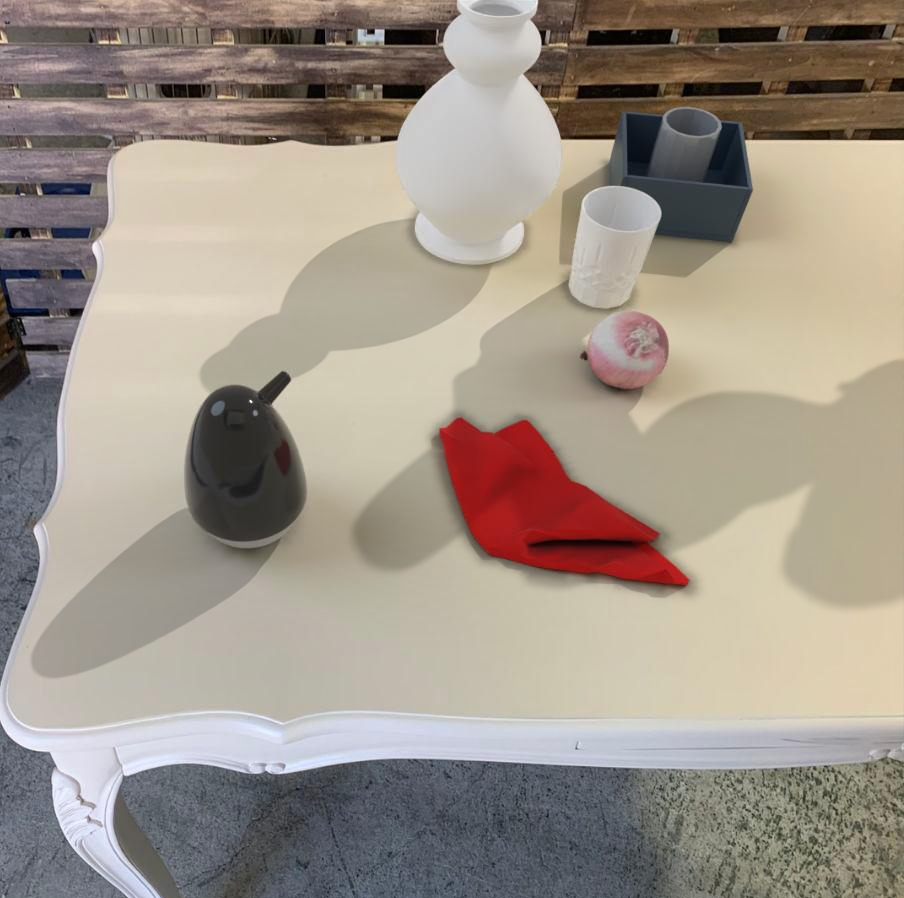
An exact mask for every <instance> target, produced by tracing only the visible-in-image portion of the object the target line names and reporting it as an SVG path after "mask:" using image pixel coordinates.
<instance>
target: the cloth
mask: <svg viewBox="0 0 904 898" xmlns="http://www.w3.org/2000/svg"><path fill="white" fill-rule="evenodd" d="M438 429H439V431H438V432H439V438H440V440H441V442H442V443H443V450H444V457H445V462H446V465H447V468H448V472H449V476H450V479H451V483H452V487H453V490H454V492H455V495H456V498H457V500H458V503H459V506H460V509H461V511H462V515H463V517H464V519H465V521H466V524H467V526H468V528H469V531H470V532H471V534H472V536H473V538H474V539H475V540H476V541H477V543H478V544H479V545H480V546H481V547H482V548H483V549H484V551H485V552H486V553H487V554H488V555H490V556H493V557H497V558H502V559H505V560H509V561H514V562H517V563H519V564H520V563H521V564H525V565H528V566H532V567H537V568H543V569H551V570H560V571H568V572H575V573H576V572H577V573H583V574H604V575H608V576H612V577H616V578H619V579H624V580H631V581H639V582H640V581H641V582H642V581H643V582H651V583H659V584H660V583H661V584H670V585H672V584H673V585H680V586H688V584H689V583H690V578H688V576H686V575H685V574H684V573H683V572H682V571H681V569H680V568H679V567H677V566H676V565H675V564H674V563H673V562H671V561H670V560H669V559H668V558H666V557H665V555H663V554H662V553H661V552H659V551H658V550H657V549H656V548H655V547H654V546H652V545H651V544H650V543H649V542H651V541H652V542H654V541H655V540H656V539H657V537H658V536H659V535H660V534H661V533H660V532H659V531H657V530H655V529H654V528H652V527H650V526H649V525H647V524H645V523H644V522H642V521H641V520H639V519H637V518H635V517H634V516H633V515H631V514H629V513H627V512H626V511H624V510H622V509H621V508H619V507H617V506H616V505H614V504H613V503H611V502H609V501H607V500H606V499H605V498H603V497H602V496H600V495H599V494H598V493H596V492H595V491H594V490H593V489H591V488H589V487H588V486H587V485H585V484H582V483H579V482H576V481H573V480H572V479H571V478H570V476H568V475H567V473H566V472H565V470H564V467H563V466H562V464H561V462H560V460H559V459H558V457H557V455H556V454H555V451H554V450H553V449H552V447H551V446H550V445H549V444H548V442H547V441H546V440H545V439H544V437H543V436H542V434H541V433H540V432H539V431H538V429H536V427H535V426H533V424H532V423H531V422H530V421H529V420H528V419H521V420H519V421H517V422H515V423H512V424H510V425H508V426H505V427H503V428H501V429H500V430H498V431H497V432H495V433H494V432H492V431H481V430H480V429H478V428H477V427H476V426H474V425H473V424H472V423H470V421H469V422H468V421H467V420H466V419H464V418H463V417H456V418H455V419H454V420H452V422H450V424H448V425H447V426H446V427H439V428H438Z"/></svg>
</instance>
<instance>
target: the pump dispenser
mask: <svg viewBox="0 0 904 898" xmlns="http://www.w3.org/2000/svg"><path fill="white" fill-rule="evenodd" d="M291 382H292V376H291V375H290V374H289V373H288V371H285V370H281V371H280V372H279V373H278V374H276V375H275V376H274V377H273V378H272V379H271V380H269V381H268V382H267V383H266V384H265V385H263V386H262V387H261V388H260V389H259V390H256V389H255V388H252V387H249V386H247V385H244V384H241V383H240V384H239V383H230V384H225V385H221V386H219V387H217V388H216V389H214V390H212V392H210V393H209V394H208V395H207V396H206V398H204V400H203V401H202V403H201V404H200V406H199V408H198V409H197V410H196V413H195V415H194V418H193V421H192V423H191V426H190V430H189V433H188V438H187V443H186V448H185V453H184V464H183V487H184V488H183V490H184V491H183V492H184V498H185V502H186V506H187V509H188V512H189V514H190V516H191V518H192V519H193V520H194V522H195V523H196V524H197V525H198V526H199V527H200V528H202V530H203V531H205V532H206V533H207V534H208V535H209V536H210V537H212V538H213V539H214V540H216V541H218V542H220V543H221V544H224V545H226V546H229V547H233V548H239V549H254V548H255V549H256V548H261V547H265V546H267V545H270V544H272V543H274V542H276V541H278V540H279V539H281V538H282V537H284V536H285V535H286V533H288V532H289V531H290V530H291V529H292V527H293V526H294V525H295V523H296V522H297V520H298V518H299V516H300V515H301V513H302V511H303V510H304V507H305V505H306V502H307V497H308V481H307V475H306V470H305V466H304V463H303V460H302V456H301V453H300V450H299V448H298V447H299V446H298V444H297V442H296V440H295V437H294V436H293V434H292V432H291V430H290V428H289V426H288V424H287V422H286V421H285V419H284V418H283V416H282V415H281V413H280V412H279V411H278V410H277V408H275V406H274V402H275V401H276V400H277V399H278V398H279V396H280V395H281V394H282V393H283V392H284V390H285V389H286V388H287V387H288V386H289V384H290V383H291Z"/></svg>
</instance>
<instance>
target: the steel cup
mask: <svg viewBox="0 0 904 898" xmlns="http://www.w3.org/2000/svg"><path fill="white" fill-rule="evenodd" d="M663 115H664V116H663V118H662V121H661V125H660V128H659V131H658V135H657V138H656V142H655V145H654V149H653V152H652V156H651V159H650V163H649V166H648V169H647V173H646V176H645V177H652V178H662V179H672V180H682V181H692V182H702V183H703V181H704V178H705V175H706V172H707V169H708V166H709V163H710V160H711V158H712V155H713V152H714V149H715V146H716V143H717V140H718V137H719V135H720V132H721V129H722V126H721V121H720V120H721V119H719V118H718V117H717V116H716V115H715V114H714V113H712V112H710V111H708V110H705V109H702V108H698V107H691V106H680V107H673V108H671V109H669V110H667V111H666V112H665V113H664V114H663Z"/></svg>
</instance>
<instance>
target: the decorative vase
mask: <svg viewBox="0 0 904 898" xmlns="http://www.w3.org/2000/svg"><path fill="white" fill-rule="evenodd" d="M538 5H539V0H456V8H457V11H458V12H459V13H460V14H459V15H458V16H457V17H455V18H454V19H453V20H452V21H451V23H449V24H448V26H447V28H446V29H445V32H444V35H443V39H442V45H443V47H442V48H443V52H444V55H445V56H446V58H447V60H448V62H449V63H450V64H451V65H452V66H453V69H452V70H450V71H449V72H447V73H446V74H445V75H443V76H442V78H440V79H439V80H438V81H437V82H436V83H434V84H433V85H432V86H431V87H430V88H429V89H428V90H427V91H426V92H425V93H424V94H423V95H422V96H421V97H420V98H419V100H417V102H416V104H415V105H414V106H413V107H412V109H411V110H410V111H409V113H408V115H407V116H406V118H405V120H404V121H403V123H402V125H401V128H400V130H399V133H398V136H397V140H396V146H395V154H394V161H395V162H394V163H395V164H394V165H395V171H396V176H397V179H398V181H399V184H400V186H401V188H402V190H403V191H404V193H405V194H406V196H407V198H408V199H409V200H410V202H411V203H412V204H413V205H414V206H415V208H416V209H417V210H418V214H417V216H416V218H415V221H414V222H415V223H414V232H415V233H414V234H415V236H416V239H417V241H418V243H420V245H421V246H422V247H423V248H424V249H425V250H426V251H428V252H429V253H430V254H432V255H434V256H435V257H438V258H439V259H442V260H445V261H448V262H452V263H454V264H455V263H456V264H461V265H486V264H487V265H488V264H492V263H496V262H499V261H502V260H504V259H506V258H508V257H509V256H511V255H513V254H514V253H515V252H516V251H517V250H518V249H519V248H520V247H521V245H522V243H523V240H524V237H525V235H524V234H525V226H524V223H523V222H524V221H525V220H526V219H528V218H529V217H531V215H533V213H535V212H536V211H537V210H538V209H540V208H541V207H542V206H543V205H544V204H545V202H546V201H547V200H548V199H549V197H550V196H551V195H552V193H553V192H554V191H555V188H556V187H557V183H558V182H559V178H560V175H561V172H562V166H563V164H562V163H563V144H562V138H561V135H560V131H559V127H558V124H557V122H556V120H555V118H554V116H553V114H552V112H551V110H550V108H549V107H548V104H547V103H546V101H545V99H544V98H543V97H542V95H541V94H540V93H539V91H538V90H537V88H536V87H535V86H534V85H533V84H532V83H531V82H530V81H529V79H528V78H527V77H526V76H525V75H524V74H525V73H526V72H527V71H528V70H530V69H531V68H532V67H533V66H534V64H535V63H536V62H537V61H538V59H539V57H540V54H541V51H542V38H541V37H542V36H541V34H540V31H539V30H538V28H537V26H536V24H535V23H534V22H533V21H532V20H531V19H533V17H534V16H536V14H537V11H538Z"/></svg>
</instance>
